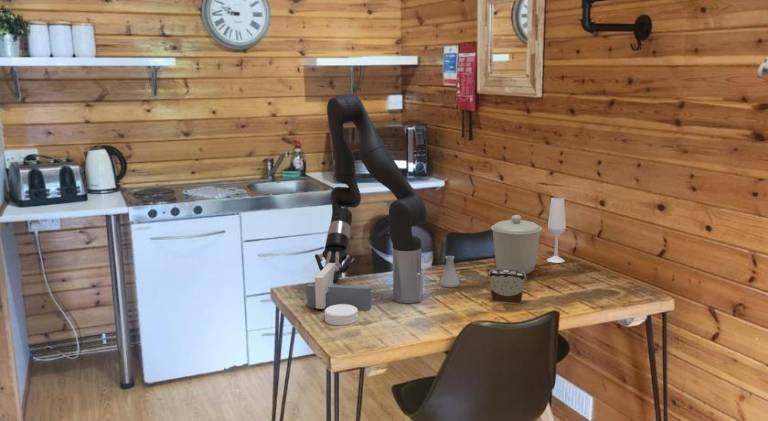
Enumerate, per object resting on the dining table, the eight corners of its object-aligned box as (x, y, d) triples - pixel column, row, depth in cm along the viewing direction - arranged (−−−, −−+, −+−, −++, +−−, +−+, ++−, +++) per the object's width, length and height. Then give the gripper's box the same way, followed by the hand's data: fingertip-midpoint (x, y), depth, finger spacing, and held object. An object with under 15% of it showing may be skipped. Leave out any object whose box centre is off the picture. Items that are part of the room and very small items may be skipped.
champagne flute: (565, 258, 272) (567, 197, 267) (563, 263, 266) (565, 200, 261) (548, 257, 274) (549, 196, 269) (545, 261, 268) (547, 200, 263)
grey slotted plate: (371, 307, 221) (370, 286, 219) (369, 310, 218) (368, 288, 217) (309, 304, 225) (308, 283, 223) (307, 307, 222) (306, 286, 221)
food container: (528, 298, 227) (529, 268, 225) (525, 304, 221) (526, 274, 219) (490, 295, 231) (491, 265, 229) (487, 301, 225) (487, 271, 223)
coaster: (360, 324, 207) (360, 313, 207) (327, 327, 205) (326, 316, 205) (355, 313, 217) (354, 302, 216) (322, 316, 215) (322, 305, 214)
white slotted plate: (329, 291, 234) (328, 262, 232) (336, 292, 233) (335, 263, 231) (315, 308, 219) (314, 277, 216) (323, 308, 218) (322, 278, 216)
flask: (436, 287, 240) (436, 258, 238) (442, 280, 247) (442, 253, 245) (456, 289, 238) (457, 260, 236) (462, 283, 244) (462, 255, 242)
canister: (503, 262, 269) (504, 208, 265) (548, 269, 258) (550, 213, 254) (481, 273, 254) (482, 216, 250) (527, 281, 244) (529, 222, 240)
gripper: (315, 230, 237) (306, 276, 227) (356, 232, 234) (348, 278, 225) (320, 242, 243) (311, 287, 234) (360, 243, 240) (352, 289, 231)
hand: (329, 282), depth 229 cm, fingers closed on white slotted plate, 2 cm apart
